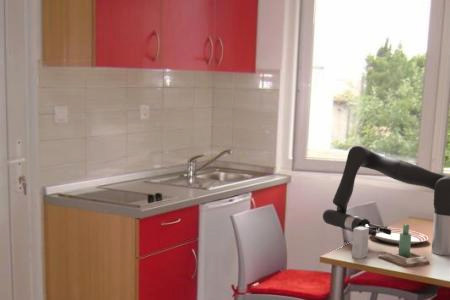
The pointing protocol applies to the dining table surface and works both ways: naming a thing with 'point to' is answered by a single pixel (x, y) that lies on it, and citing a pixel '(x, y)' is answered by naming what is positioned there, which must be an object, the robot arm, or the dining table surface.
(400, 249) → the green bottle
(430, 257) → the dining table surface
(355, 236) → the skincare box
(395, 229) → the dinner plate
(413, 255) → the bottle holder
